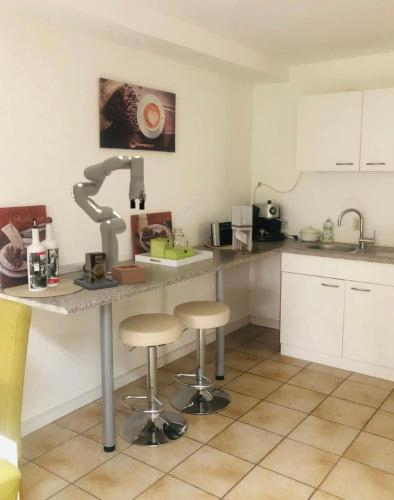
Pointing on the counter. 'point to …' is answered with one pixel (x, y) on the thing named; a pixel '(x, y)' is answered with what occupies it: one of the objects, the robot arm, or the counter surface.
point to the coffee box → (95, 268)
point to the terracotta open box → (128, 274)
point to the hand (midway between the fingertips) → (137, 209)
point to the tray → (97, 286)
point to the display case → (242, 228)
